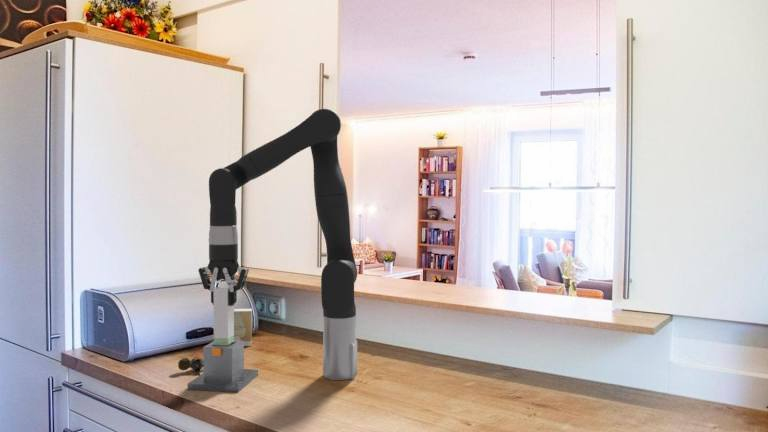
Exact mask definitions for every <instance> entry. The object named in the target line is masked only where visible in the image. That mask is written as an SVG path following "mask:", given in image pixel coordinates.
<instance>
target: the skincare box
mask: <svg viewBox="0 0 768 432" xmlns="http://www.w3.org/2000/svg"><path fill="white" fill-rule="evenodd" d="M252 325H253V308H234V340H239V341H244V347H251V346H252V330H253V329H252V328H253V327H252Z"/></svg>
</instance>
